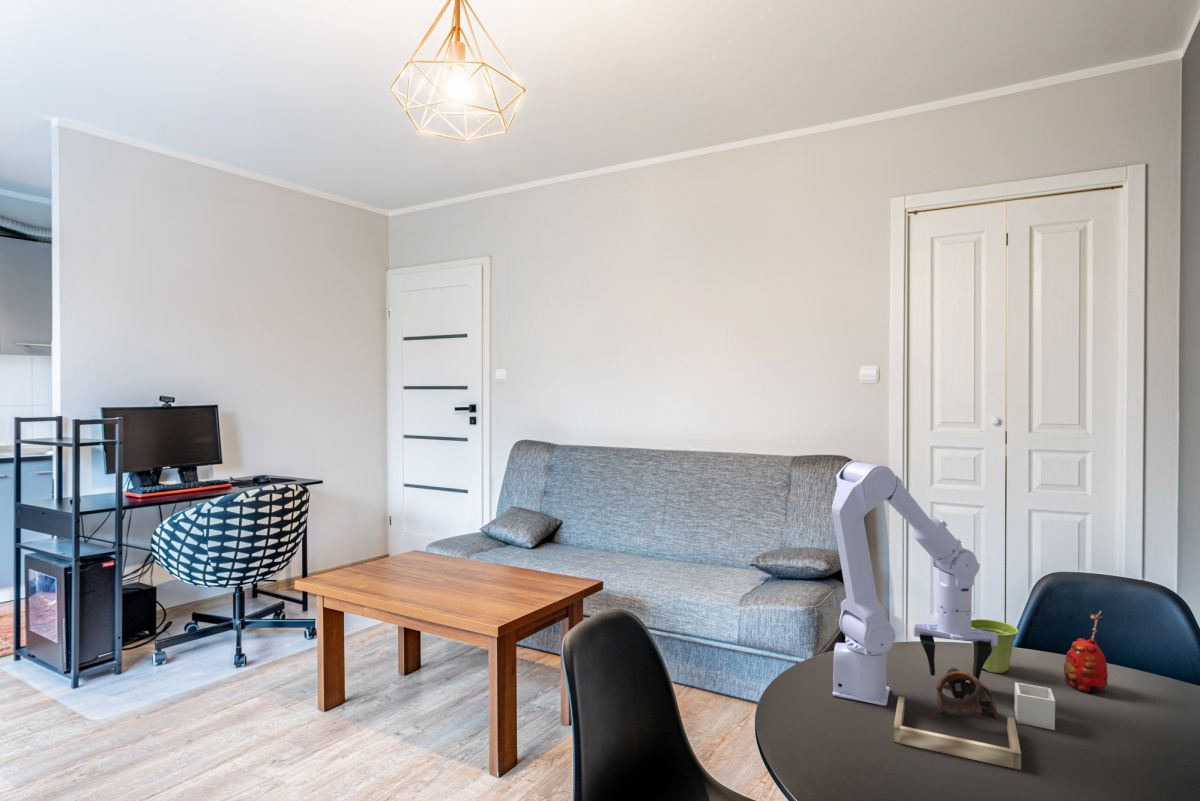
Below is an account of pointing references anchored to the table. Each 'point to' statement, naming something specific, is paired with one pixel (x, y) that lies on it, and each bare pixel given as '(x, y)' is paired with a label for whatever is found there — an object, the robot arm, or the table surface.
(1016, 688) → the white square open box
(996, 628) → the plant pot
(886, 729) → the table surface
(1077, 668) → the red clay folk toy
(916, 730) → the birch bay
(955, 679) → the brown hollow curved piece
